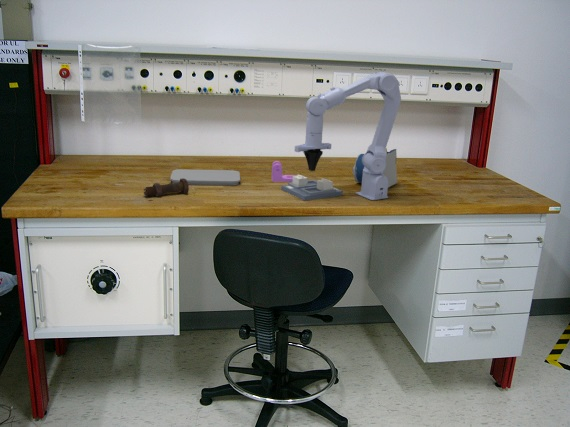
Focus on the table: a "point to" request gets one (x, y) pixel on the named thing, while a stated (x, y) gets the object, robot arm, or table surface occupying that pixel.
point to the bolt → (167, 188)
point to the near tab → (324, 184)
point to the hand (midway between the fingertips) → (311, 170)
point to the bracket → (280, 173)
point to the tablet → (206, 177)
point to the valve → (388, 172)
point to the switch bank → (310, 191)
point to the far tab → (300, 180)
